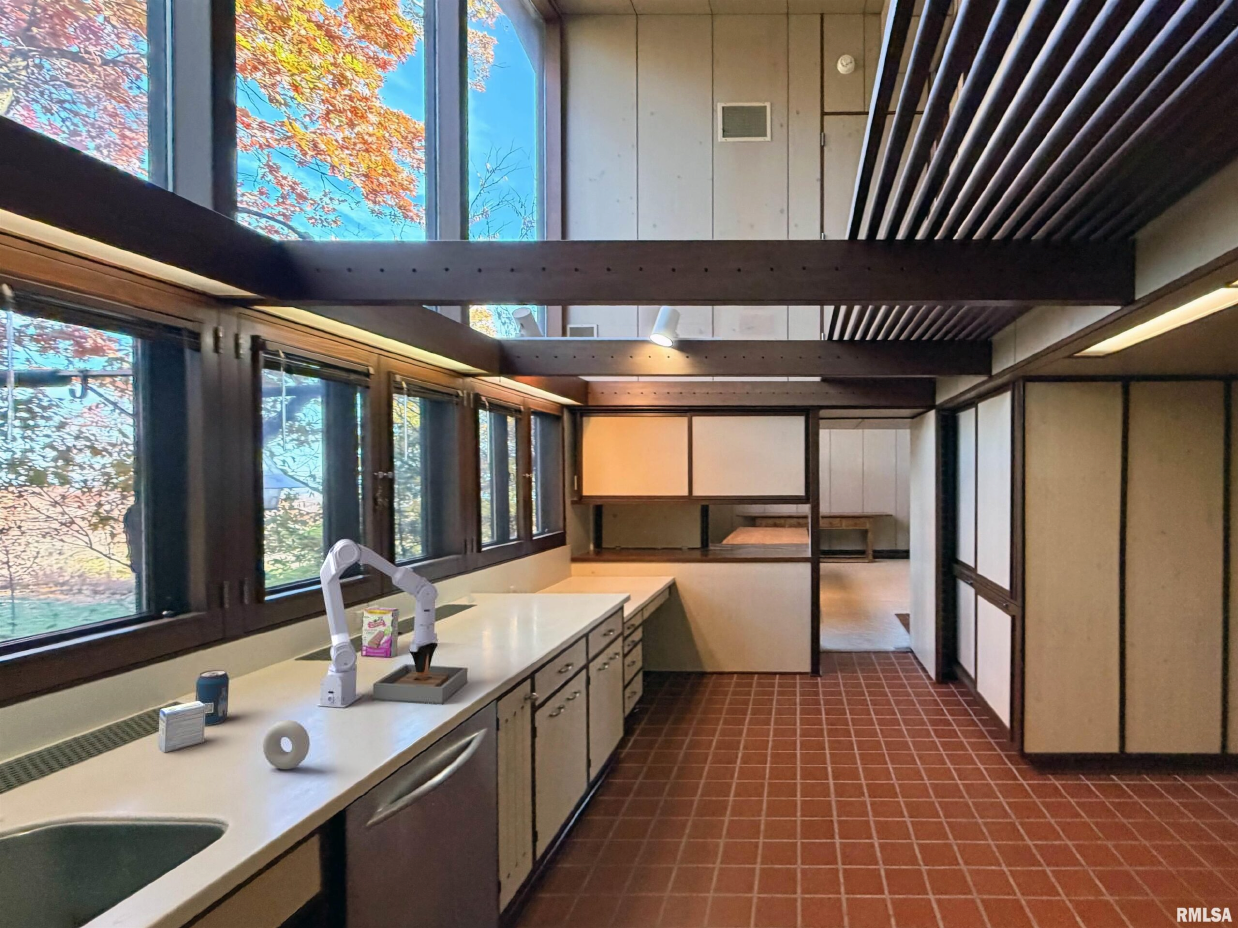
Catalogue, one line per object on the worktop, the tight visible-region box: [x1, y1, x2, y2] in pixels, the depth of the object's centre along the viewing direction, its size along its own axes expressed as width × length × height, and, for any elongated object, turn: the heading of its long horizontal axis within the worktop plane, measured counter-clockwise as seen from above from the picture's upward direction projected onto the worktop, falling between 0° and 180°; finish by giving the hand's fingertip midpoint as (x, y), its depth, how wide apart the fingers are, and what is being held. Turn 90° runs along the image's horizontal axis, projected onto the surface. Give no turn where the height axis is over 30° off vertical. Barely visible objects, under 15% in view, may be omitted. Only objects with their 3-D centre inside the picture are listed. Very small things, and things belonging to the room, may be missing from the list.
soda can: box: [194, 669, 230, 726], centre depth 160 cm, size 7×7×12 cm
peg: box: [417, 656, 428, 679], centre depth 187 cm, size 3×3×7 cm
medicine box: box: [157, 701, 206, 753], centre depth 146 cm, size 8×4×9 cm, turn 141°
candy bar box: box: [360, 606, 400, 659], centre depth 223 cm, size 11×5×16 cm, turn 84°
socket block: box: [394, 671, 450, 687], centre depth 187 cm, size 12×12×3 cm
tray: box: [372, 663, 469, 705], centre depth 187 cm, size 20×20×4 cm
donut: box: [262, 719, 311, 770], centre depth 135 cm, size 10×4×10 cm, turn 82°
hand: (422, 670), depth 187 cm, fingers closed on peg, 3 cm apart
